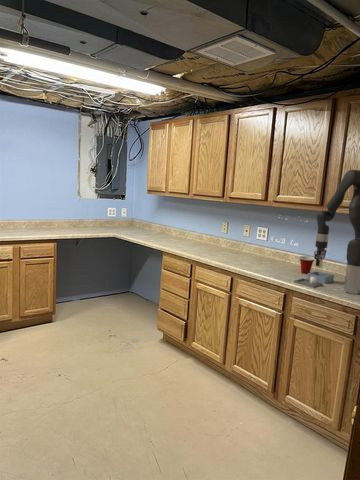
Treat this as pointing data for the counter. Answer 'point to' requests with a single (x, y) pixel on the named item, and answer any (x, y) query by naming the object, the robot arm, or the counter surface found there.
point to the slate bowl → (321, 277)
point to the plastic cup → (306, 264)
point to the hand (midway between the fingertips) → (318, 265)
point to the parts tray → (307, 282)
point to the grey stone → (313, 280)
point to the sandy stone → (320, 263)
